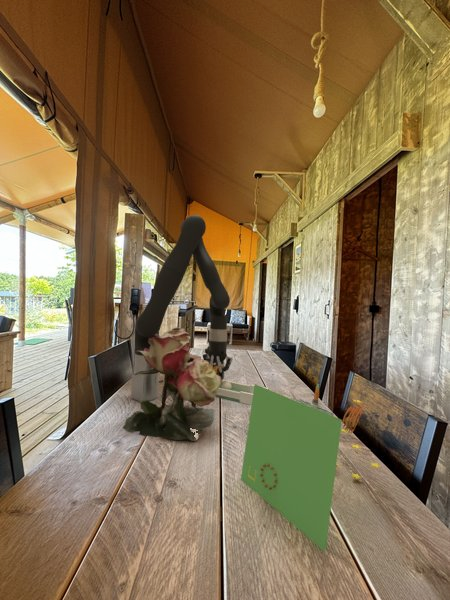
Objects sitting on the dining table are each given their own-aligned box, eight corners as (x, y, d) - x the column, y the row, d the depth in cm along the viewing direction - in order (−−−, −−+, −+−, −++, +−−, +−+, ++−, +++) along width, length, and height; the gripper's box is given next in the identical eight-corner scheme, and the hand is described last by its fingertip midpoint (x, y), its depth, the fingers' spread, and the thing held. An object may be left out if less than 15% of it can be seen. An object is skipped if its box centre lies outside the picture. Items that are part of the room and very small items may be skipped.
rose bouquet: (212, 446, 77) (216, 337, 76) (115, 432, 83) (118, 330, 82) (229, 409, 102) (232, 326, 102) (153, 400, 108) (156, 322, 107)
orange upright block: (215, 390, 117) (216, 369, 117) (210, 389, 118) (210, 368, 118) (222, 387, 123) (222, 366, 122) (216, 385, 124) (217, 365, 124)
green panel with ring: (391, 511, 61) (403, 399, 62) (323, 554, 46) (341, 405, 48) (307, 460, 78) (319, 374, 80) (238, 480, 64) (254, 373, 65)
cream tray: (259, 406, 106) (259, 396, 106) (204, 394, 117) (204, 384, 117) (268, 397, 116) (268, 388, 116) (217, 386, 127) (217, 377, 127)
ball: (228, 393, 116) (229, 383, 115) (220, 391, 117) (220, 382, 117) (232, 390, 119) (233, 381, 119) (224, 389, 121) (224, 379, 121)
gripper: (199, 338, 120) (197, 378, 120) (229, 342, 114) (227, 384, 114) (208, 336, 127) (206, 374, 127) (236, 340, 120) (235, 380, 121)
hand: (216, 379), depth 120 cm, fingers open, 3 cm apart
